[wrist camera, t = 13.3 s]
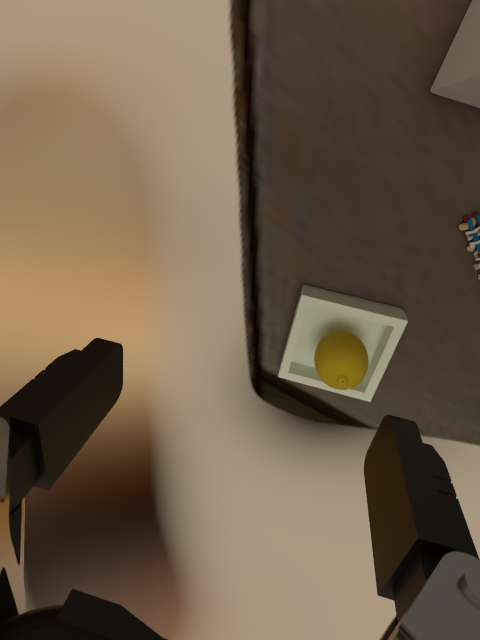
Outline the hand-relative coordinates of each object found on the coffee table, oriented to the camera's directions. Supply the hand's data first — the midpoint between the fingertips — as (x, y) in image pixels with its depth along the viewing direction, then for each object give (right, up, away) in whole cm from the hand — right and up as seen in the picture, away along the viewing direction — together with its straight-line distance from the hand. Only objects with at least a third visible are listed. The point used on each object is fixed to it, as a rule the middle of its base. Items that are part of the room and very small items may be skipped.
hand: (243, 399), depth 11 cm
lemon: (+11, 0, +31) cm, 33 cm away
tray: (+11, 0, +32) cm, 34 cm away
